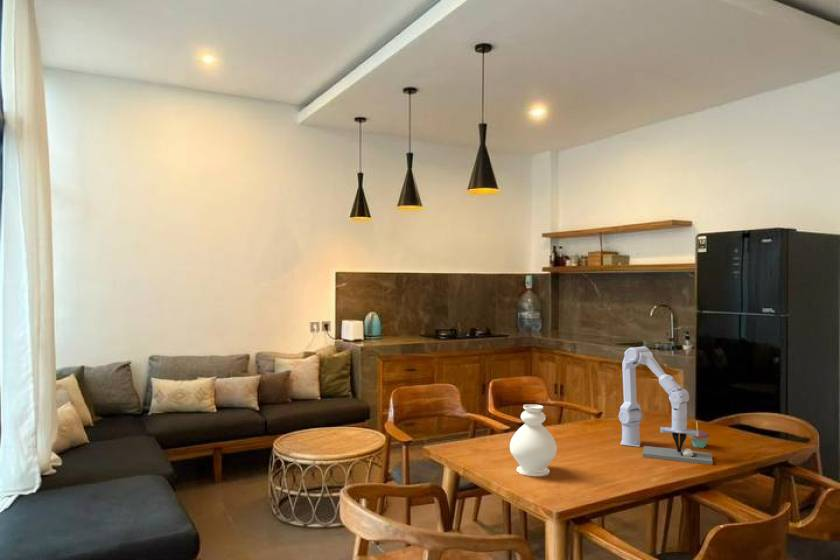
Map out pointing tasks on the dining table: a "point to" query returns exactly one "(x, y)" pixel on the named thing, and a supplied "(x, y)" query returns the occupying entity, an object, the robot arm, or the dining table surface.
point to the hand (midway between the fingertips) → (679, 451)
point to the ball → (687, 452)
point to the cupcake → (699, 438)
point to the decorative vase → (533, 443)
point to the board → (677, 455)
